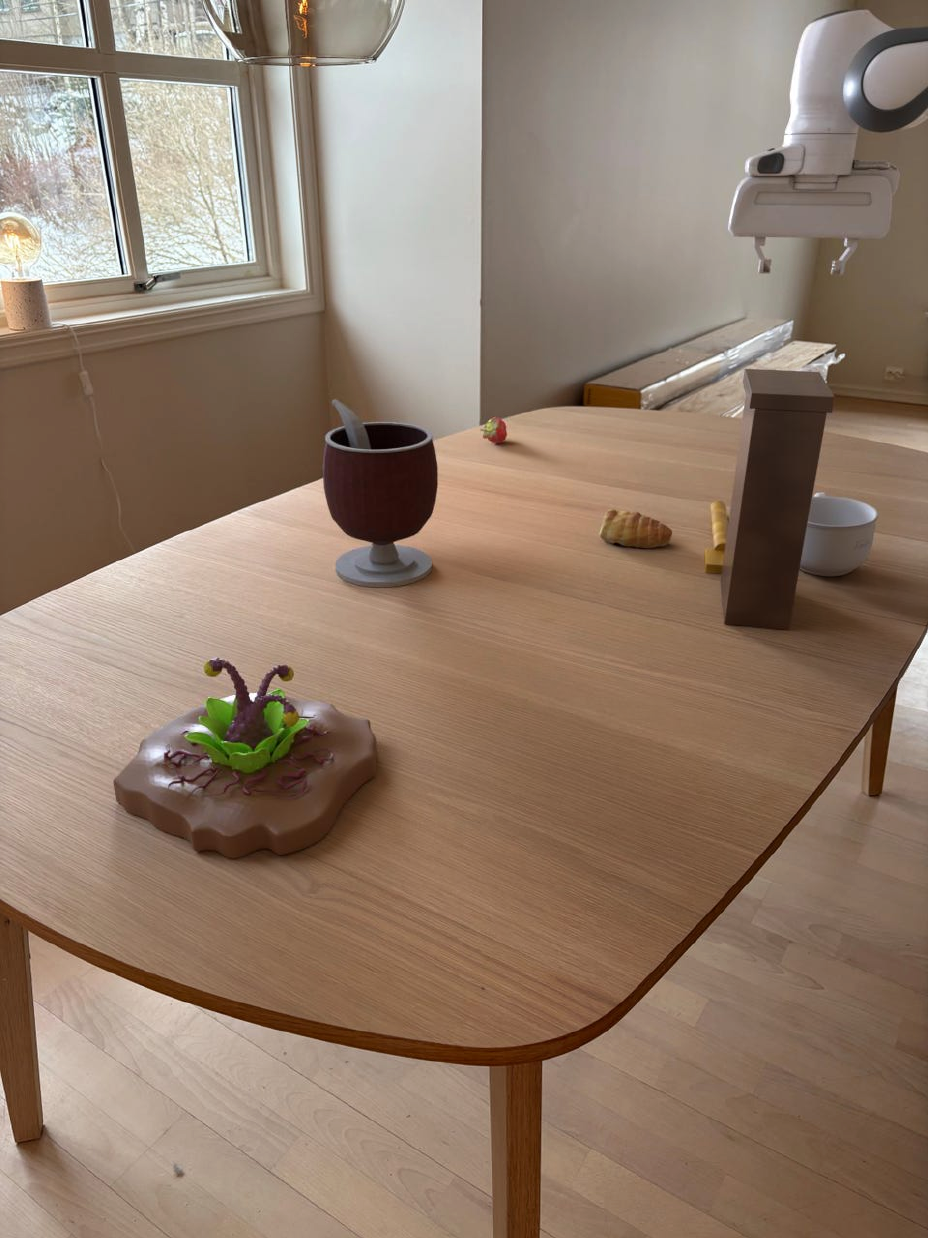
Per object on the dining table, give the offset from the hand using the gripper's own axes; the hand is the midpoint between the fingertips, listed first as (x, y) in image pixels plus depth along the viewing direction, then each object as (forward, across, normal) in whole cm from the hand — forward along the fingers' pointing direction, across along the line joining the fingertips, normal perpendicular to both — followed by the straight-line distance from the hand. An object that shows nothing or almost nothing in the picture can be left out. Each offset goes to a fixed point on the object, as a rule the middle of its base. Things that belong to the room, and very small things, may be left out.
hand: (800, 273), depth 128 cm
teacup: (+33, -5, +21) cm, 40 cm away
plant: (+33, +48, +80) cm, 99 cm away
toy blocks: (+33, +7, +18) cm, 38 cm away
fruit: (+33, +45, -25) cm, 61 cm away
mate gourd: (+33, +50, +34) cm, 69 cm away
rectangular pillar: (+33, +4, +36) cm, 49 cm away
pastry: (+33, +19, +18) cm, 42 cm away
